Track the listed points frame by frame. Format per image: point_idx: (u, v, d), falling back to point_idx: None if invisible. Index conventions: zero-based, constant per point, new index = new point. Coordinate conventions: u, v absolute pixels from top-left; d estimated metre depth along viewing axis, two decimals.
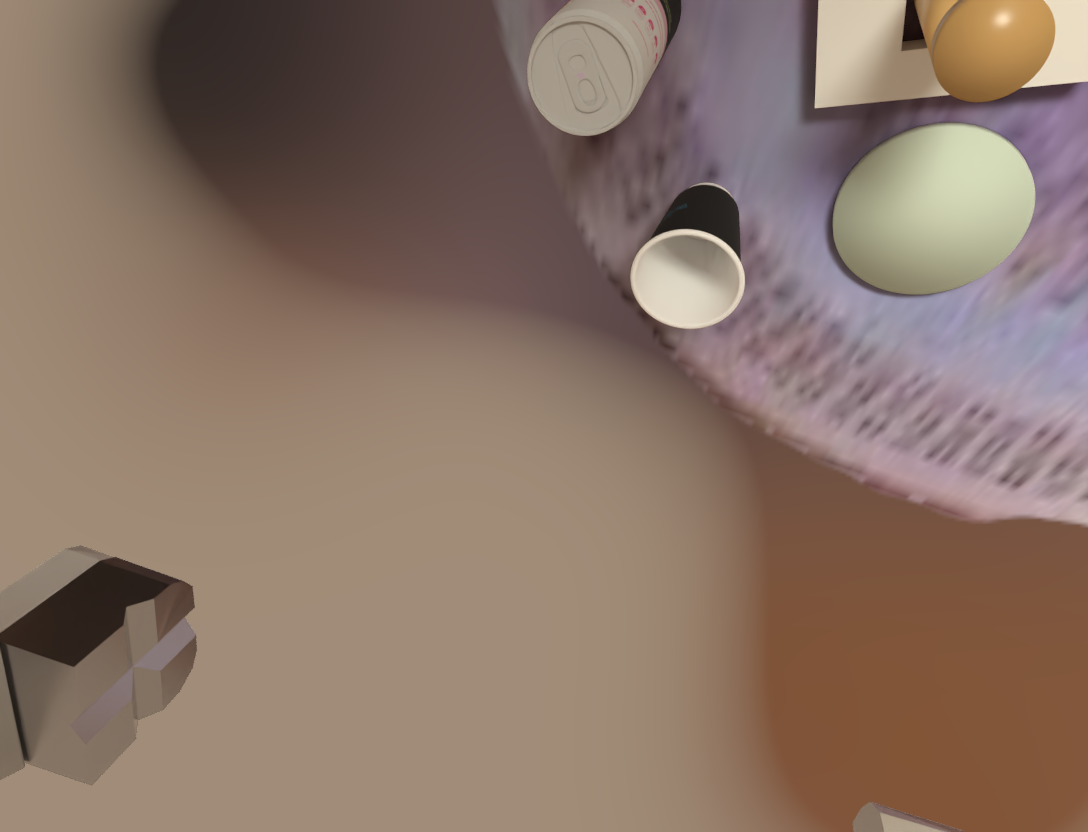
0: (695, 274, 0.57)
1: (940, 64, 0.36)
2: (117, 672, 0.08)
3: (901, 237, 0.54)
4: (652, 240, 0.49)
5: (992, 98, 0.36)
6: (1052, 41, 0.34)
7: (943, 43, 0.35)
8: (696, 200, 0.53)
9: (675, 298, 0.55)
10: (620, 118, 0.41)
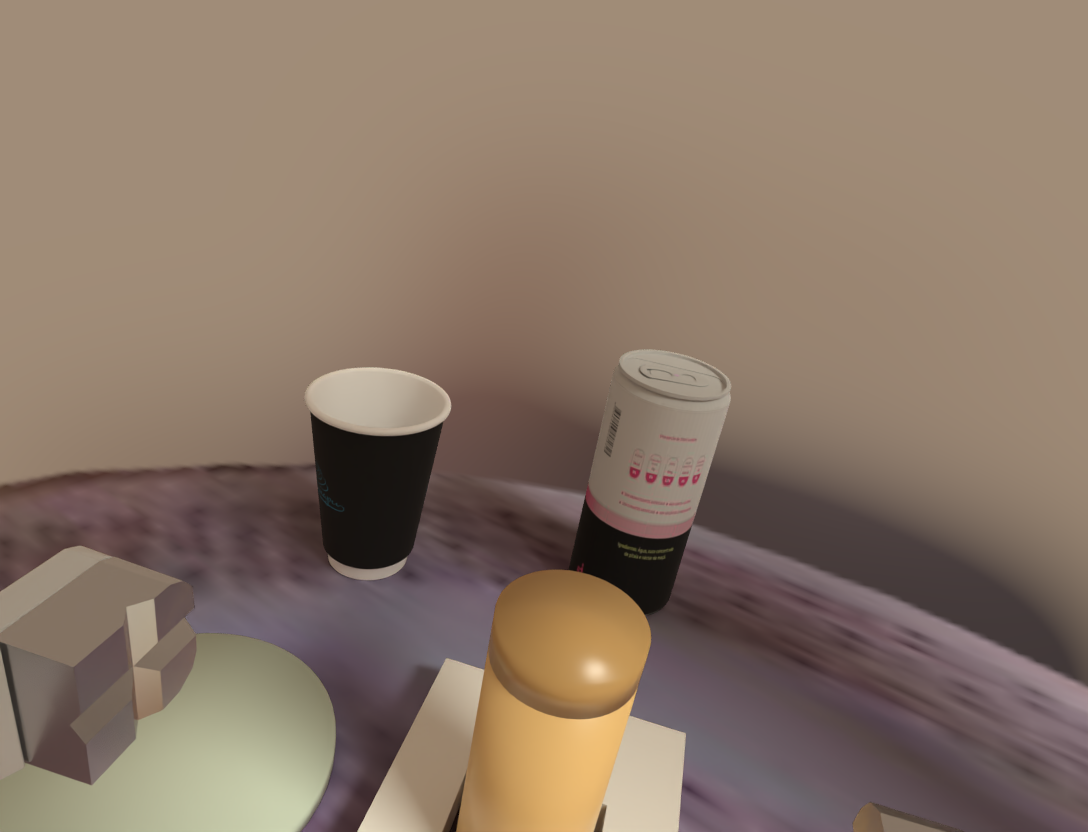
0: None
1: (572, 576, 0.25)
2: (117, 672, 0.08)
3: (169, 704, 0.32)
4: (448, 398, 0.42)
5: (498, 606, 0.23)
6: (556, 675, 0.21)
7: (599, 584, 0.25)
8: (420, 507, 0.43)
9: (340, 415, 0.43)
10: (629, 373, 0.39)
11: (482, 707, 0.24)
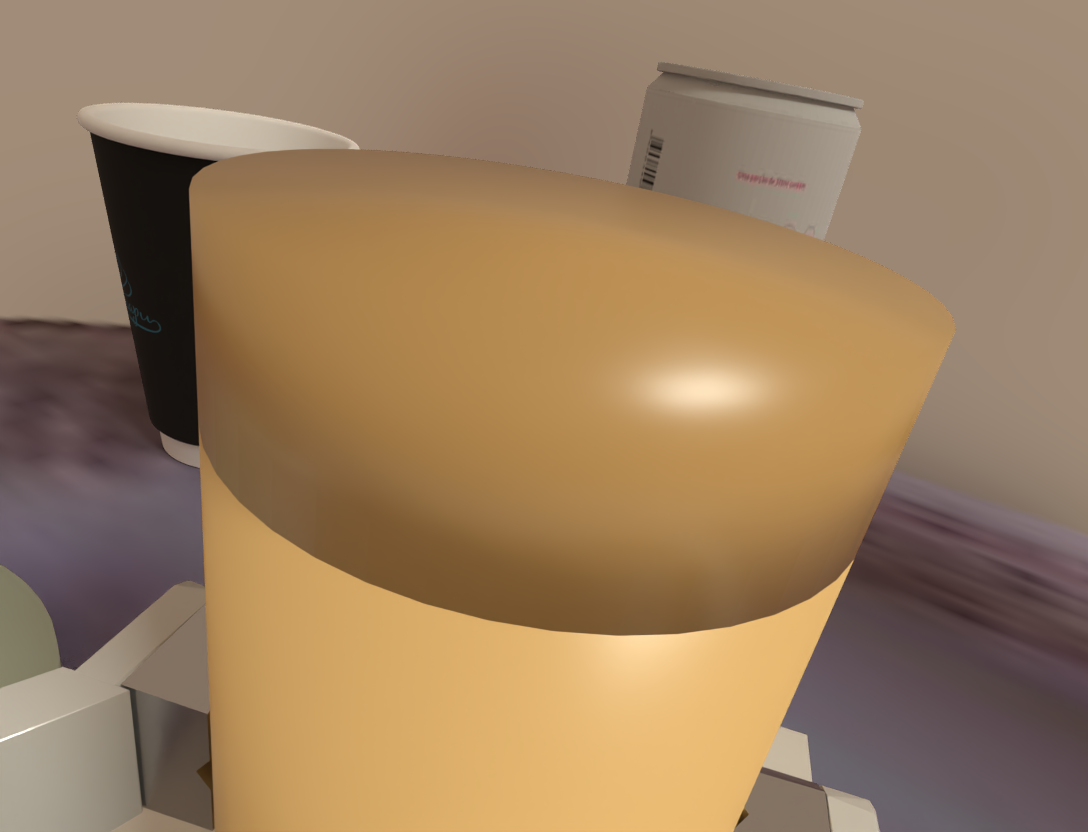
0: None
1: (576, 178, 0.07)
2: None
3: None
4: (357, 146, 0.24)
5: (248, 159, 0.05)
6: (467, 310, 0.03)
7: (671, 199, 0.07)
8: None
9: None
10: None
11: None
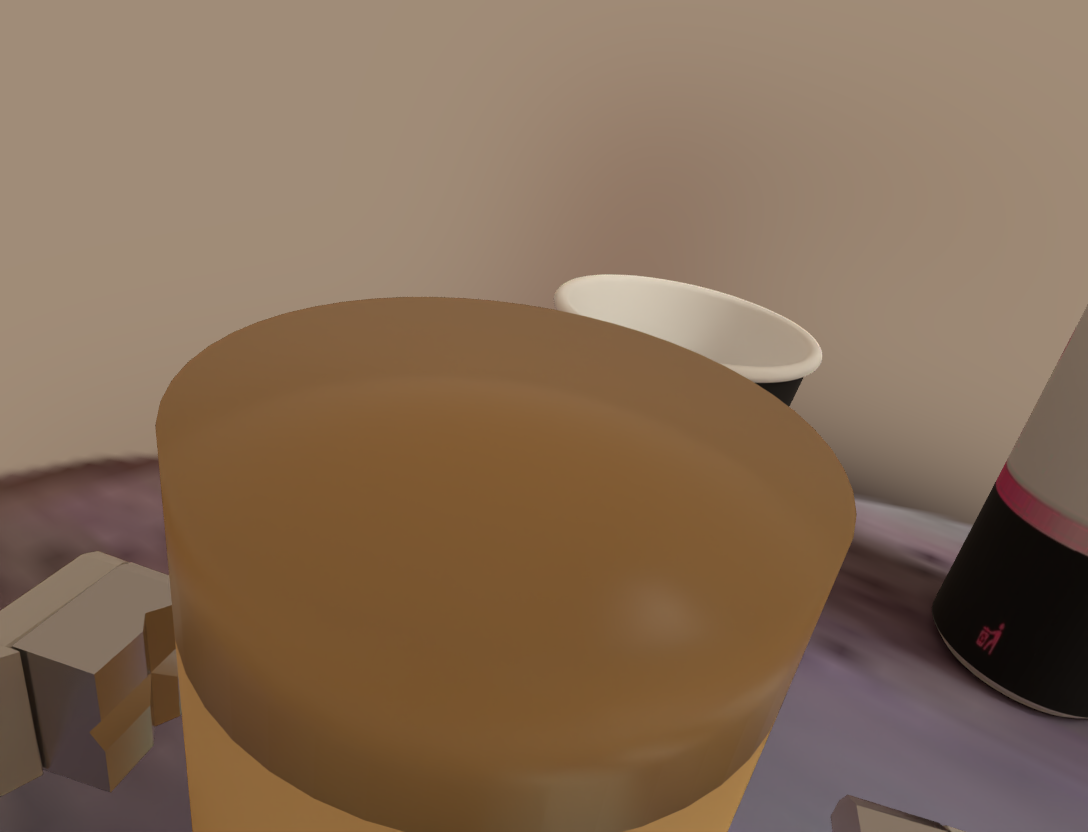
0: None
1: (533, 314, 0.08)
2: (136, 679, 0.08)
3: None
4: None
5: (215, 351, 0.06)
6: (386, 605, 0.03)
7: (623, 336, 0.07)
8: None
9: None
10: None
11: None
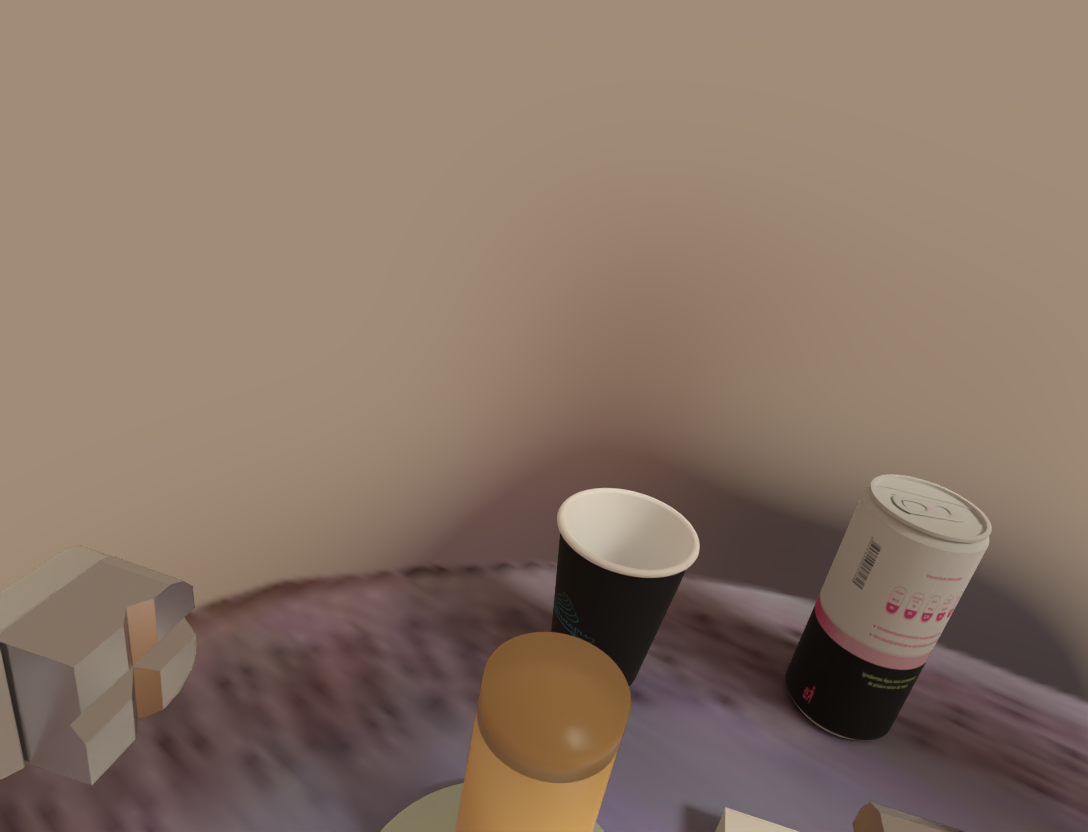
0: None
1: (558, 638, 0.26)
2: (117, 672, 0.08)
3: None
4: None
5: (486, 672, 0.24)
6: (539, 743, 0.22)
7: (583, 646, 0.26)
8: None
9: (573, 537, 0.43)
10: (892, 510, 0.38)
11: (471, 765, 0.25)
